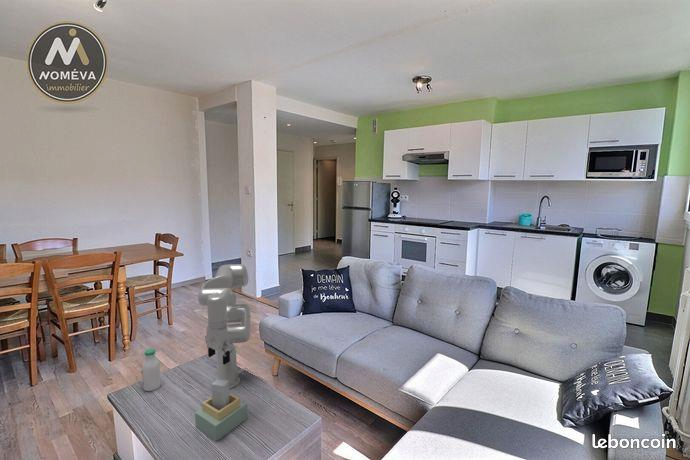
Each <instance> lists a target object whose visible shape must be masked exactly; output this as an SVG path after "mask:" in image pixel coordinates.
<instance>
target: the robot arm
mask: <svg viewBox="0 0 690 460" xmlns="http://www.w3.org/2000/svg"><path fill="white" fill-rule="evenodd" d="M248 283H249V274H248V269H247V267H246V266H245V265H244V264H242V263H238V264H237V263H235V264H234V263H233V264H232V263H229V264H223V265H220V266H219V268H217V271H216V273H215V276H214V277H213V278H210V279H209V280H207V281H205V282H203V283H202V285H201V287H200V290H199V292H198V296H197V301H198V304H199V305H201V306H203V307H207V308H206V309H207V325H206V326H207V327H206V334H205V336H204V340H205V344H206V347H207V354H208V358H211V357H212V356H215V355H216V367H217V368H216V369H217V372H216V375H217V378H216V379H221V380H229V390H230V389H233V388H235V387H236V386H238V385H239V383H241V377H240V374H242V373H243V372H245V368H244V367H243V368H238V367H237V365H238V364H237V363H238V362H237V348H236V346H235V345H234V344H241V343H247V342H248V341H249V340H250V337H251V309H250V306H249V305H248V304H246V303H237V295H236V293H235V292H234V291H233V289H232V288H242V287H246V286H247V285H248Z"/></svg>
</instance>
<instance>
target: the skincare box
mask: <svg viewBox="0 0 690 460" xmlns="http://www.w3.org/2000/svg"><path fill="white" fill-rule="evenodd" d="M229 393H230V389H229V380H221V379H217V378H215V379H214V380H213V382H212V384H211V397H212V407H214V408H215V409H217V410H221V409H222V408H224V407H225V406H227V405H228V404H230V400H229Z"/></svg>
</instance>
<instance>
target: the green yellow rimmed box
mask: <svg viewBox="0 0 690 460" xmlns="http://www.w3.org/2000/svg"><path fill="white" fill-rule="evenodd" d="M229 400H230V404H228V405H227V406H225V407H224V408H222V409H221V410H217V409H215V408H214V407H212V396H211V397H210V398H208V399H206V400H205V401H203V402H201V405H202V407H200V409H198V410H196V411H195V412H194V419H195V420H194V421H195V428H196V429H197V430H198V431H201V432H202V433H203V434H205V435H206V436H208V437H209V438H210V439H212V440H214V441H215V442H218V441H219V440H220V439H222V438H223V437H224V436H225V435H227V434H229V433H230V432H231V431H232V430H234V429H235V428H237V426H239V425H240V424H242V423H243V422H245V421H246V420H247V419H248V403H246V402H244V401H242V400H241V398H240V397H238V396H236V395H234V394H232V393H230V392H229Z"/></svg>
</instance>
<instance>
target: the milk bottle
mask: <svg viewBox="0 0 690 460" xmlns="http://www.w3.org/2000/svg"><path fill="white" fill-rule="evenodd" d="M144 357H145V358H144V361H143V363H142V367H141V368H142V369H141V372H142V373H141V375H142V388H143V391H145V392H153V391H155V390H156V391H157V389H159V388H160V387H161V384H162V381H161V380H162V379H161V378H162V377H161V365H160V361H159V360H158V358H157V356H156V348H148V349H146V350H144Z"/></svg>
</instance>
